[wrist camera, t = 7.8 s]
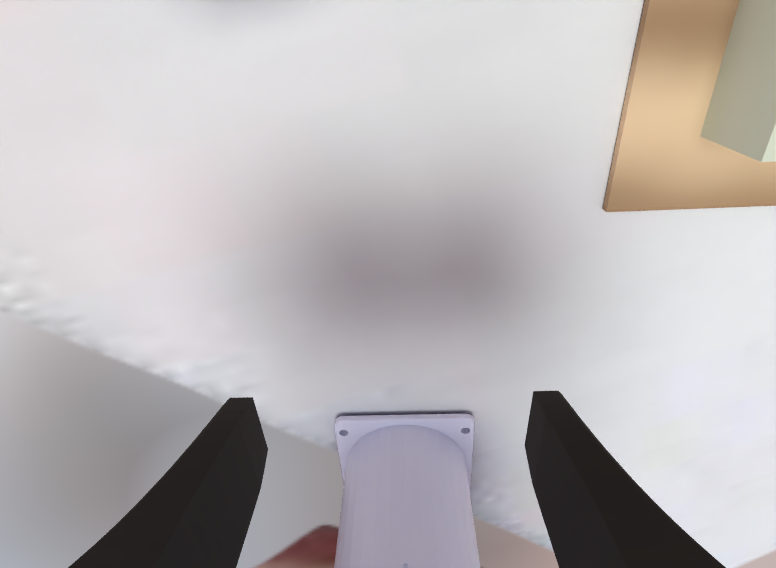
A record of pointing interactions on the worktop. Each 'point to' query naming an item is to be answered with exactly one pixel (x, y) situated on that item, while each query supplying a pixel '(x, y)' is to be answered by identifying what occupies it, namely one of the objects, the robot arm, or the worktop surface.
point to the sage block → (747, 85)
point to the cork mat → (680, 118)
